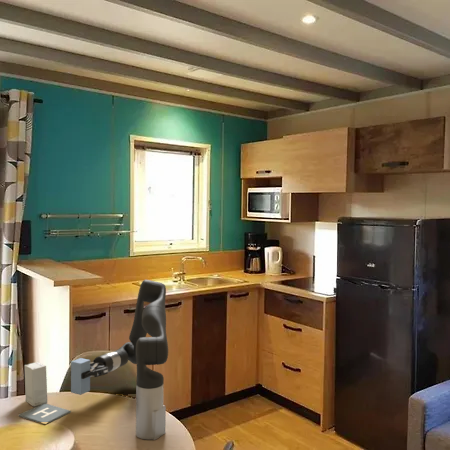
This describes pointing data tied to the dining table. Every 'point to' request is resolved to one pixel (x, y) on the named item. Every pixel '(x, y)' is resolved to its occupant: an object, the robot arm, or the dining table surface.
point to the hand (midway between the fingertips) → (76, 375)
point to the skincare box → (35, 384)
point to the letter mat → (44, 413)
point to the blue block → (77, 369)
